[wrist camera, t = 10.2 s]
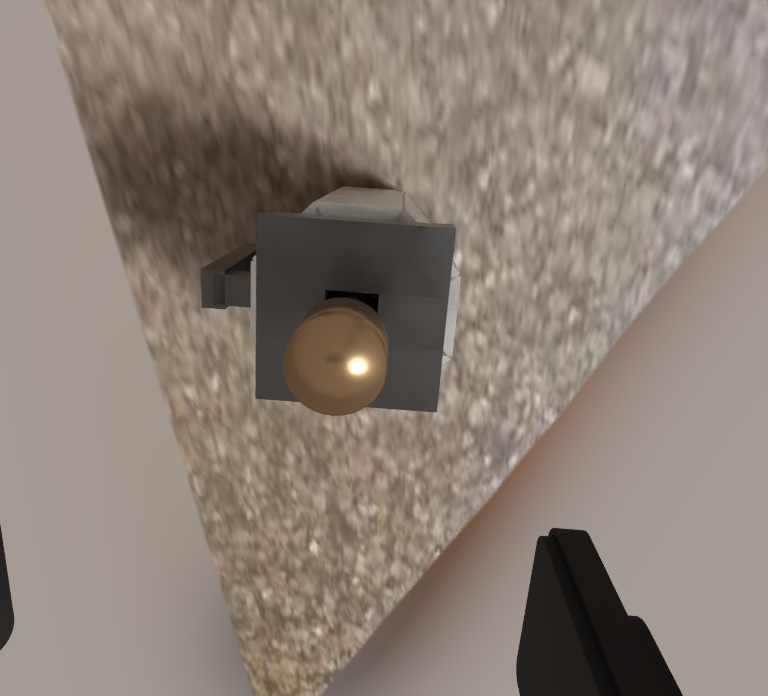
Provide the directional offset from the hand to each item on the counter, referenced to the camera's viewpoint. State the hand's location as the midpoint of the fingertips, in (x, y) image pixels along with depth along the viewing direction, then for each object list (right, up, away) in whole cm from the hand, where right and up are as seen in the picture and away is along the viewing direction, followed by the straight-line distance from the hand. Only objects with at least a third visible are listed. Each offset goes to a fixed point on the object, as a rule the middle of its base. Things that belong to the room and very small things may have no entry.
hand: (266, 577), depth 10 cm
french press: (0, +10, +32) cm, 33 cm away
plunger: (+1, +9, +29) cm, 30 cm away
